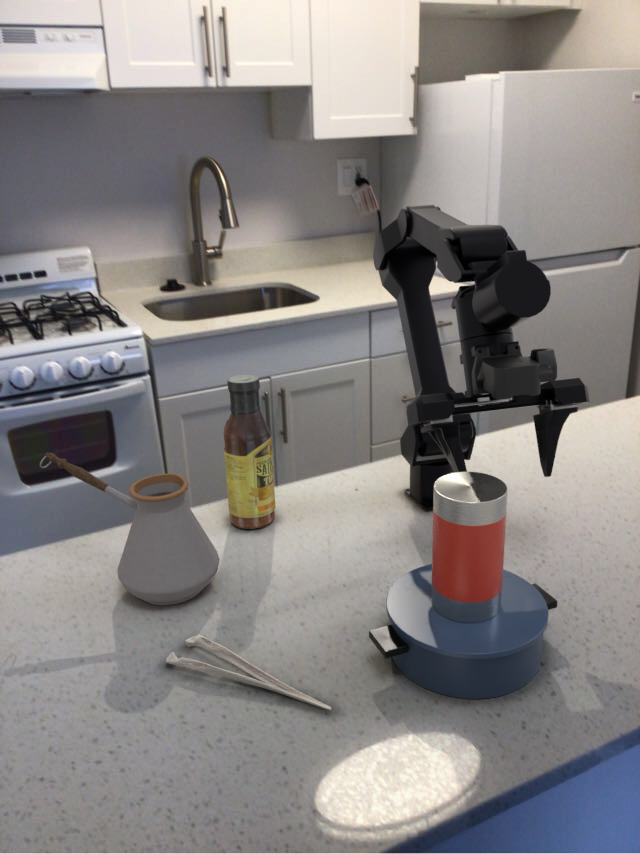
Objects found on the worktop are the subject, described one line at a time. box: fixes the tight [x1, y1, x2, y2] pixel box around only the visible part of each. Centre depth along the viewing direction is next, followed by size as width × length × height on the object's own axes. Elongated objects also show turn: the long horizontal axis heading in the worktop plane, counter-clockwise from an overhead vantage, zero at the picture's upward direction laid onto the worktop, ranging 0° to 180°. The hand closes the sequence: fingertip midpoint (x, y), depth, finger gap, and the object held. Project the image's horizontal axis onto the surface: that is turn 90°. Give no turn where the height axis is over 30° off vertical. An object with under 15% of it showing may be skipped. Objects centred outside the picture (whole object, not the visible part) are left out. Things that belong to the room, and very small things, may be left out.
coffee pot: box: [39, 452, 220, 606], centre depth 86 cm, size 21×12×15 cm, turn 68°
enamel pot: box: [368, 563, 558, 700], centre depth 74 cm, size 19×15×5 cm
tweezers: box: [165, 634, 332, 711], centre depth 71 cm, size 17×5×2 cm, turn 60°
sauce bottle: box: [223, 373, 276, 530], centre depth 98 cm, size 6×6×20 cm
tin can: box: [431, 471, 508, 623], centre depth 71 cm, size 7×7×12 cm
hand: (506, 481), depth 81 cm, fingers open, 9 cm apart
